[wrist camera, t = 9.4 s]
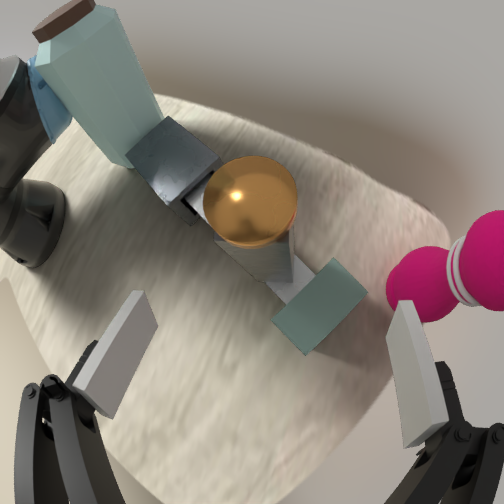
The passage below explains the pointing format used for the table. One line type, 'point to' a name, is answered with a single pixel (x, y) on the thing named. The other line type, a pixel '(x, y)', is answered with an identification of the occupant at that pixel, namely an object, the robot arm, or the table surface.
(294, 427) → the table surface
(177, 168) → the charcoal rectangular brick
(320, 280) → the socket block
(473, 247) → the pepper mill
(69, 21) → the water bottle
